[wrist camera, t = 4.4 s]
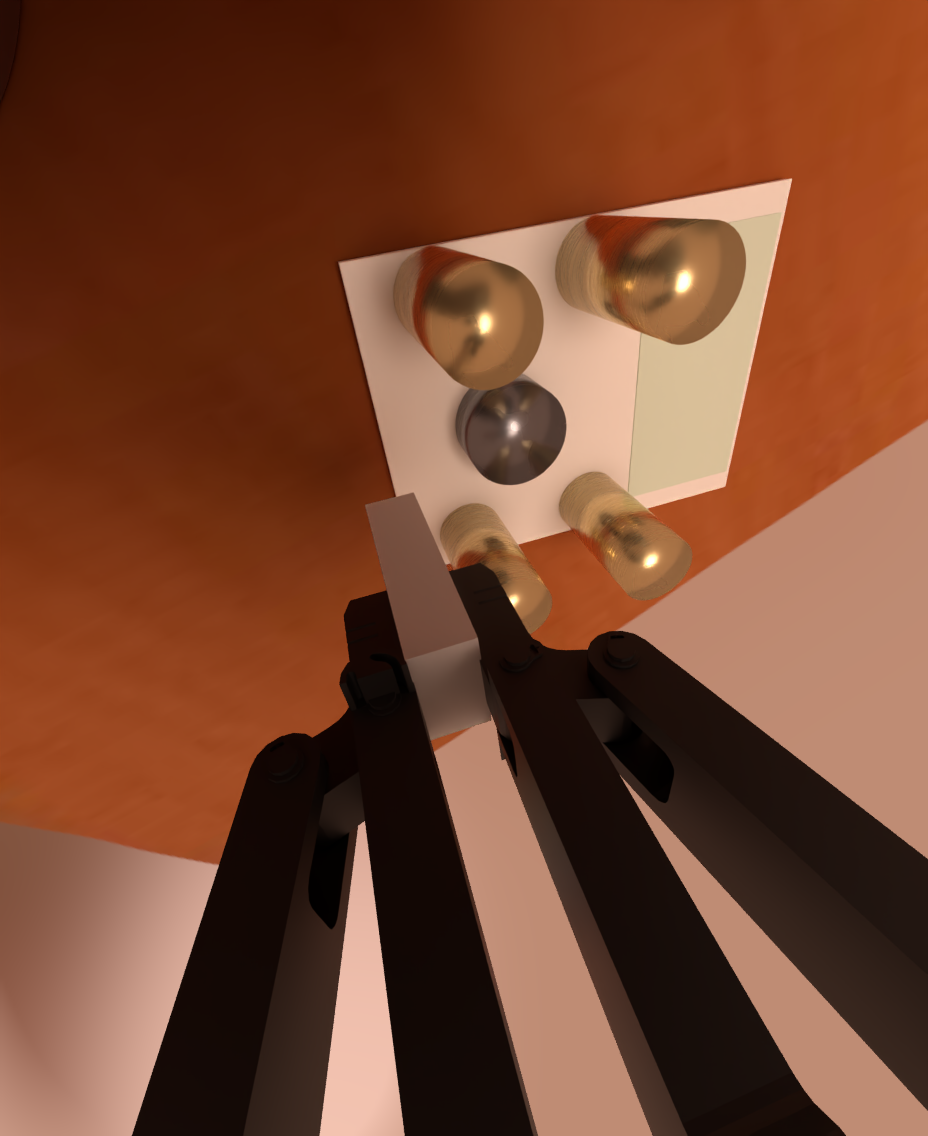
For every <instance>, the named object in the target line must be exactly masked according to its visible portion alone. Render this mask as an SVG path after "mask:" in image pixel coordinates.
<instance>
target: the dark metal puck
mask: <svg viewBox="0 0 928 1136" xmlns="http://www.w3.org/2000/svg"><path fill="white" fill-rule="evenodd" d="M566 427H567V426H566V417H565V413H564V410H563V407H562V406H561V404H560V402H559V401H558V399H557V398H556V397H555V396H554V395H553V394H552V393H550V392H549V391H548V390H546V389H545V388H543V387H542V386H541V385H539V384H538V383H536V382H535V381H534V380H532V379H531V378H529V377H528V376H526V375H524V374H521V375H520V376H519V377H518V378H516V379H515V380H514V381H512V382H510V383H509V384H507V385H505V386H502V387H499V388H496V389H491V390H476V389H471V388H470V389H469V390H468V391H467V393H466V394H465V395H464V397H463V399H462V400H461V403H460V405H459V407H458V411H457V414H456V422H455V428H456V435H457V439H458V441H459V444H460V446H461V447H462V449H463V450H464V452H465V453H466V455H467V456H468V457H469V459H470V460H471V462H472V463H473V465H474V466H475V467H476V469H477V470H478V471H479V473H480V474H481V475H482V476H484V477H485V478H486V479H488V480H490V481H492V482H494V483H497V484H501V485H518V484H522V483H525V482H528V481H530V480H533V479H534V478H536V477H538V476H539V475H541V474H542V473H543V472H545V471H546V470H547V469H548V468H549V467H550V466H551V465H552V464H553V462H554V461H555V460H556V458H557V457H558V455H559V453H560V451H561V449H562V447H563V444H564V441H565V436H566Z"/></svg>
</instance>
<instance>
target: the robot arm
mask: <svg viewBox="0 0 928 1136" xmlns="http://www.w3.org/2000/svg"><path fill="white" fill-rule="evenodd" d="M20 4H21V0H0V102H1V99H2V96H3V94H4V91H5V88H6V85H7V83H8V79H9V75H10V71H11V67H12V64H13V60H14V55H15V49H16V43H17V36H18V30H19V17H20ZM365 507H366V511H367V515H368V519H369V522H370V526H371V530H372V534H373V538H374V542H375V546H376V550H377V554H378V558H379V561H380V565H381V569H382V573H383V577H384V581H385V585H386V589H387V590H386V591H383V592H379V593H376V594H372V595H369V596H365V597H362V598H358V599H354V600H351V601H350V602H349V604H348V607H347V609H346V612H345V614H344V622H345V630H346V637H347V643H348V652H349V660H350V662H349V663H348V664H347V665H346V667H345V668H344V670H343V671H342V673H341V677H340V684H339V685H340V687H341V689H342V692H343V694H344V696H345V698H346V701H347V703H348V705H349V708H348V710H347V711H346V713H345V714H344V715H343V716H342V717H341V718H340V719H339V720H338V721H337V722H336V723H334V724H333V725H332V726H330V727H329V728H327V729H326V730H324V731H323V732H321V733H319V734H318V735H316V736H315V737H313V738H312V737H310V736H308V735H307V734H301V733H292V734H288V735H285V736H281V737H279V738H277V739H276V740H274V741H272V742H271V743H269V744H267V745H266V747H265V748H264V749H263V750H262V751H261V752H260V753H259V754H258V755H257V756H256V758H255V760H254V762H253V764H252V766H251V768H250V771H249V774H248V777H247V780H246V783H245V786H244V789H243V792H242V796H241V799H240V802H239V805H238V808H237V811H236V814H235V817H234V820H233V823H232V827H231V830H230V833H229V836H228V839H227V842H226V845H225V848H224V851H223V854H222V858H221V861H220V864H219V867H218V870H217V873H216V876H215V880H214V883H213V886H212V889H211V892H210V895H209V898H208V901H207V904H206V907H205V910H204V913H203V917H202V920H201V923H200V926H199V929H198V932H197V935H196V938H195V941H194V945H193V948H192V951H191V954H190V957H189V960H188V963H187V966H186V969H185V973H184V975H183V979H182V982H181V985H180V988H179V991H178V994H177V997H176V1001H175V1003H174V1007H173V1010H172V1013H171V1016H170V1019H169V1022H168V1025H167V1028H166V1031H165V1034H164V1038H163V1041H162V1044H161V1047H160V1050H159V1053H158V1056H157V1060H156V1062H155V1066H154V1069H153V1072H152V1075H151V1078H150V1081H149V1084H148V1087H147V1090H146V1093H145V1097H144V1100H143V1103H142V1106H141V1109H140V1112H139V1115H138V1118H137V1121H136V1125H135V1128H134V1131H133V1134H132V1136H319V1134H320V1126H321V1119H322V1111H323V1103H324V1094H325V1086H326V1079H327V1071H328V1062H329V1054H330V1047H331V1038H332V1030H333V1023H334V1015H335V1006H336V999H337V991H338V983H339V975H340V966H341V958H342V950H343V942H344V934H345V926H346V918H347V910H348V902H349V894H350V886H351V878H352V870H353V862H354V854H355V846H356V838H357V830H358V825H360V824H361V823H362V822H364V821H365V825H366V833H367V841H368V848H369V856H370V864H371V872H372V880H373V888H374V896H375V904H376V912H377V920H378V927H379V935H380V943H381V951H382V958H383V967H384V975H385V983H386V991H387V999H388V1007H389V1014H390V1022H391V1030H392V1038H393V1046H394V1054H395V1062H396V1070H397V1078H398V1086H399V1093H400V1102H401V1109H402V1117H403V1125H404V1133H405V1136H538V1134H537V1131H536V1127H535V1123H534V1120H533V1116H532V1112H531V1108H530V1105H529V1101H528V1097H527V1093H526V1090H525V1086H524V1083H523V1079H522V1075H521V1071H520V1068H519V1064H518V1060H517V1057H516V1053H515V1049H514V1045H513V1042H512V1038H511V1034H510V1031H509V1027H508V1023H507V1020H506V1016H505V1012H504V1008H503V1005H502V1001H501V997H500V994H499V990H498V987H497V983H496V979H495V975H494V971H493V968H492V964H491V960H490V957H489V953H488V949H487V946H486V942H485V938H484V935H483V931H482V927H481V923H480V920H479V916H478V912H477V909H476V905H475V901H474V898H473V894H472V890H471V886H470V883H469V879H468V875H467V872H466V868H465V864H464V860H463V857H462V853H461V850H460V846H459V842H458V839H457V835H456V831H455V827H454V824H453V820H452V816H451V813H450V809H449V805H448V802H447V798H446V794H445V790H444V787H443V783H442V779H441V775H440V772H439V768H438V764H437V761H436V758H435V755H434V751H433V747H432V744H431V740H433V739H436V738H439V737H442V736H445V735H448V734H451V733H454V732H457V731H460V730H463V729H466V728H469V727H472V726H475V725H478V724H481V723H485V722H488V721H491V715H492V717H493V720H494V722H495V725H496V727H497V733H498V740H499V746H500V753H501V759H502V760H504V759H506V761H507V763H508V766H509V768H510V771H511V774H512V777H513V779H514V782H515V784H516V787H517V789H518V792H519V794H520V797H521V800H522V802H523V804H524V807H525V810H526V812H527V815H528V817H529V820H530V823H531V825H532V828H533V830H534V833H535V835H536V838H537V840H538V843H539V846H540V848H541V851H542V853H543V856H544V858H545V861H546V863H547V866H548V869H549V871H550V874H551V876H552V879H553V881H554V884H555V886H556V889H557V891H558V894H559V897H560V899H561V901H562V904H563V907H564V910H565V912H566V915H567V917H568V920H569V922H570V925H571V928H572V930H573V933H574V935H575V938H576V940H577V943H578V946H579V948H580V950H581V953H582V956H583V958H584V961H585V963H586V966H587V968H588V971H589V974H590V976H591V979H592V981H593V983H594V987H595V989H596V991H597V994H598V997H599V999H600V1002H601V1004H602V1007H603V1010H604V1012H605V1015H606V1017H607V1020H608V1022H609V1025H610V1027H611V1030H612V1033H613V1035H614V1038H615V1040H616V1043H617V1045H618V1048H619V1050H620V1053H621V1056H622V1058H623V1061H624V1063H625V1066H626V1068H627V1071H628V1074H629V1076H630V1079H631V1081H632V1084H633V1086H634V1089H635V1091H636V1094H637V1097H638V1099H639V1102H640V1104H641V1107H642V1109H643V1112H644V1115H645V1117H646V1120H647V1122H648V1125H649V1127H650V1130H651V1132H652V1135H653V1136H846V1135H845V1134H844V1132H843V1131H842V1130H841V1129H840V1127H838V1125H836V1124H835V1123H834V1122H833V1121H832V1120H831V1119H830V1118H829V1117H828V1116H827V1115H826V1114H825V1113H824V1112H823V1111H822V1110H821V1109H820V1108H819V1107H818V1106H817V1105H816V1104H815V1103H814V1102H813V1101H812V1100H811V1098H810V1097H809V1096H808V1095H807V1093H806V1092H805V1091H804V1089H803V1088H802V1086H801V1085H800V1083H799V1082H798V1080H797V1079H796V1077H795V1075H794V1074H793V1072H792V1070H791V1069H790V1067H789V1066H788V1064H787V1062H786V1060H785V1058H784V1057H783V1055H782V1053H781V1052H780V1050H779V1048H778V1046H777V1045H776V1043H775V1041H774V1040H773V1038H772V1036H771V1034H770V1033H769V1031H768V1029H767V1028H766V1026H765V1024H764V1022H763V1021H762V1019H761V1017H760V1015H759V1014H758V1012H757V1010H756V1009H755V1007H754V1005H753V1004H752V1002H751V1000H750V998H749V997H748V995H747V993H746V991H745V990H744V988H743V986H742V985H741V983H740V981H739V979H738V978H737V976H736V974H735V972H734V971H733V969H732V967H731V966H730V964H729V962H728V960H727V959H726V957H725V955H724V954H723V952H722V950H721V948H720V947H719V945H718V943H717V942H716V940H715V938H714V936H713V935H712V933H711V931H710V929H709V928H708V926H707V924H706V923H705V921H704V919H703V917H702V916H701V914H700V912H699V911H698V909H697V907H696V905H695V904H694V902H693V900H692V899H691V897H690V895H689V893H688V892H687V890H686V888H685V887H684V885H683V883H682V881H681V880H680V878H679V876H678V875H677V873H676V871H675V869H674V868H673V866H672V864H671V862H670V861H669V859H668V857H667V856H666V854H665V852H664V850H663V849H662V847H661V845H660V844H659V842H658V840H657V838H656V837H655V835H654V833H653V831H652V830H651V828H650V826H649V825H648V823H647V821H646V819H645V818H644V816H643V814H642V813H641V811H640V809H639V807H638V806H637V804H636V802H635V800H634V799H633V797H632V795H631V794H630V792H629V790H628V788H627V787H626V785H625V784H624V782H623V780H622V778H623V779H624V780H625V781H626V782H627V783H628V784H629V785H630V786H631V787H632V789H633V790H634V791H635V792H636V793H637V794H638V795H639V796H640V797H641V798H642V799H643V801H645V803H646V804H647V805H648V806H649V807H650V808H651V809H652V810H653V811H654V813H655V814H656V815H657V816H658V817H659V818H660V819H661V820H662V821H663V822H664V823H665V824H666V826H667V827H668V828H669V829H670V830H671V831H672V832H673V833H674V834H675V835H676V837H677V838H678V839H679V840H680V841H681V842H682V843H683V844H684V845H685V846H686V847H687V849H688V850H689V851H690V852H691V853H692V854H693V855H694V856H695V857H696V858H697V859H698V860H699V861H700V863H701V864H702V865H703V866H704V867H705V868H706V869H707V870H708V871H709V873H710V874H711V875H712V876H713V877H714V878H715V879H716V880H717V881H718V882H719V883H720V885H722V887H723V888H724V889H725V890H726V891H727V892H728V893H729V894H730V895H731V897H732V898H733V899H734V900H735V901H736V902H737V903H738V904H739V905H740V906H741V907H742V908H743V910H744V911H745V912H746V913H747V914H748V915H749V916H750V917H751V918H752V919H753V921H754V922H755V923H756V924H757V925H758V926H759V927H760V928H761V929H762V930H763V931H764V933H765V934H766V935H768V937H769V938H770V939H771V940H772V941H773V942H774V943H775V945H776V946H777V947H778V948H779V949H780V950H781V951H782V952H783V953H784V954H785V955H786V957H787V958H788V959H789V960H790V961H791V962H792V963H793V964H794V965H795V966H796V967H797V969H798V970H799V971H800V972H801V973H802V974H803V975H804V976H805V977H806V978H807V980H808V981H809V982H810V983H811V984H812V985H813V986H814V987H815V988H816V989H817V990H818V991H819V992H820V994H821V995H822V996H823V997H824V998H825V999H826V1000H827V1001H828V1002H829V1003H830V1005H831V1006H832V1007H833V1008H834V1009H835V1010H836V1011H837V1012H838V1013H839V1014H840V1016H841V1017H842V1018H843V1019H844V1020H845V1021H846V1022H847V1023H848V1024H849V1025H850V1026H851V1028H852V1029H853V1030H854V1031H855V1032H856V1033H857V1034H858V1035H859V1036H860V1037H861V1038H862V1040H863V1041H865V1043H866V1044H867V1045H868V1046H869V1047H870V1048H871V1049H872V1050H873V1051H874V1053H875V1054H876V1055H877V1056H878V1057H879V1058H880V1059H881V1060H882V1061H883V1062H884V1064H886V1066H887V1067H888V1068H889V1069H890V1070H891V1071H892V1072H893V1073H894V1074H895V1075H896V1077H897V1078H898V1079H899V1080H900V1081H901V1082H902V1083H903V1084H904V1085H905V1086H906V1087H907V1089H908V1090H909V1091H910V1092H911V1093H912V1094H913V1095H914V1096H915V1097H916V1098H917V1100H918V1101H919V1102H920V1103H921V1104H922V1105H923V1106H924V1107H925V1108H926V1109H927V1110H928V859H927V858H926V857H924V856H923V855H922V854H920V853H919V852H918V851H917V850H915V849H914V848H913V847H911V846H910V845H909V844H907V843H906V842H905V841H904V840H902V839H901V838H900V837H898V836H897V835H896V834H895V833H893V832H892V831H891V830H890V829H888V828H887V827H886V826H884V825H883V824H882V823H881V822H879V821H878V820H877V819H875V818H874V817H873V816H872V815H870V814H869V813H868V812H866V811H865V810H864V809H863V808H861V807H860V806H859V805H857V804H856V803H855V802H853V801H852V800H851V799H850V798H848V797H847V796H846V795H844V794H843V793H842V792H841V791H839V790H838V789H837V788H835V787H834V786H833V785H832V784H830V783H829V782H828V781H826V780H825V779H824V778H823V777H821V776H820V775H819V774H817V773H816V772H815V771H814V770H812V769H811V768H810V767H808V766H807V765H806V764H805V763H803V762H802V761H801V760H799V759H798V758H797V757H796V756H794V755H793V754H792V753H790V752H789V751H788V750H787V749H785V748H784V747H783V746H781V745H780V744H779V743H778V742H776V741H775V740H774V739H772V738H771V737H770V736H768V735H767V734H766V733H765V732H763V731H762V730H761V729H759V728H758V727H757V726H756V725H754V724H753V723H752V722H750V721H749V720H748V719H746V718H745V717H744V716H743V715H741V714H740V713H739V712H738V711H736V710H735V709H734V708H732V707H731V706H730V705H729V704H727V703H726V702H725V701H723V700H722V699H721V698H719V697H718V696H717V695H716V694H714V693H713V692H712V691H711V690H709V689H708V688H707V687H705V686H704V685H703V684H701V683H700V682H699V681H698V680H696V679H695V678H694V677H692V676H691V675H690V674H689V673H687V672H686V671H685V670H683V669H682V668H681V667H680V666H678V665H677V664H675V663H674V662H673V661H672V660H671V659H669V658H668V657H667V656H665V655H664V654H663V653H662V652H660V651H659V650H658V649H656V648H655V647H654V646H653V645H651V644H650V643H649V642H647V641H646V640H645V639H643V638H641V637H639V636H637V635H635V634H633V633H629V632H624V631H609V632H607V633H604V634H601V635H598V636H597V637H596V638H595V639H594V640H593V641H591V643H590V645H589V648H588V650H556V649H551V648H548V647H545V646H543V645H542V644H541V643H540V642H539V641H537V640H535V639H533V638H532V637H531V636H530V634H529V633H528V631H527V629H526V628H525V626H524V624H523V622H522V620H521V619H520V617H519V615H518V613H517V612H516V610H515V608H514V606H513V605H512V603H511V601H510V599H509V597H507V594H506V592H505V590H504V589H503V587H502V586H501V583H500V582H499V580H498V578H497V576H496V575H495V573H494V571H492V570H491V569H489V568H488V567H486V566H485V565H483V564H482V563H477V564H474V565H470V566H467V567H463V568H459V569H456V570H452V571H448V569H447V567H446V565H445V562H444V560H443V558H442V555H441V553H440V551H439V549H438V546H437V544H436V542H435V540H434V537H433V535H432V533H431V530H430V528H429V526H428V524H427V521H426V519H425V517H424V515H423V512H422V510H421V508H420V505H419V503H418V501H417V499H416V496H415V494H414V492H413V493H409V494H405V495H401V496H397V497H393V498H390V499H386V500H382V501H378V502H374V503H370V504H366V505H365ZM490 712H491V714H490ZM619 774H620V775H621V777H622V778H621V777H620V775H619Z"/></svg>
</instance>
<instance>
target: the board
mask: <svg viewBox="0 0 928 1136" xmlns="http://www.w3.org/2000/svg"><path fill="white" fill-rule="evenodd" d="M791 181H792V179H780V180H774V181H769V182H763V183H758V184H753V185H747V186H742V187H737V188H731V189H726V190H720V191H715V192H710V193H704V194H699V195H694V196H688V197H683V198H677V199H672V200H667V201H661V202H656V203H651V204H645V205H640V206H634V207H629V208H624V209H618V210H613V211H607V212H602V213H597V214H591V215H586V216H581V217H575V218H570V219H564V220H559V221H554V222H548V223H543V224H538V225H532V226H527V227H521V228H516V229H511V230H505V231H500V232H495V233H489V234H484V235H478V236H473V237H468V238H462V239H457V240H452V241H446V242H441V243H435V244H430V245H425V246H419V247H414V248H409V249H403V250H398V251H392V252H387V253H382V254H376V255H371V256H365V257H360V258H355V259H349V260H344V261H339V262H338V264H339V268H340V272H341V276H342V280H343V284H344V288H345V293H346V297H347V301H348V305H349V309H350V313H351V317H352V321H353V325H354V329H355V333H356V337H357V341H358V345H359V349H360V353H361V357H362V361H363V365H364V369H365V374H366V378H367V382H368V386H369V390H370V394H371V398H372V402H373V406H374V410H375V414H376V418H377V422H378V426H379V430H380V434H381V438H382V442H383V446H384V450H385V455H386V459H387V463H388V467H389V471H390V475H391V479H392V483H393V487H394V491H395V495H396V497H397V496H401V495H405V494H409V493H413V492H414V494H415V496H416V499H417V501H418V503H419V505H420V508H421V510H422V512H423V515H424V517H425V519H426V521H427V524H428V526H429V528H430V530H431V533H432V535H433V537H434V540H435V542H436V544H437V546H438V549H439V551H440V553H441V555H442V558H443V560H444V562H445V565H447V564H450V562H449V560H448V557H447V555H446V553H445V551H444V548H443V546H442V544H441V541H440V530H441V526H442V524H443V522H444V520H445V519H446V518H447V516H448V515H449V514H450V513H451V512H453V511H454V510H455V509H457V508H459V507H461V506H464V505H467V504H473V503H479V504H484V505H487V506H489V507H491V508H492V509H493V510H494V511H495V512H496V513H497V514H498V516H499V517H500V519H501V520H502V522H503V523H504V525H505V526H506V528H507V529H508V531H509V532H510V534H511V535H512V537H513V538H514V540H515V541H516V543H517V544H522V543H525V542H529V541H532V540H536V539H540V538H543V537H547V536H550V535H554V534H557V533H561V532H565V531H568V530H571V528H570V527H569V526H568V525H567V524H566V523H565V522H564V520H563V519H562V518H561V515H560V512H559V502H560V499H561V496H562V494H563V492H564V490H565V489H566V488H567V486H568V485H569V484H570V483H571V482H572V481H573V480H575V479H576V478H577V477H579V476H581V475H583V474H586V473H589V472H602V473H605V474H607V475H608V476H609V477H610V478H612V479H613V480H614V481H615V482H616V483H617V484H619V485H620V486H621V487H622V488H623V489H625V490H626V491H627V492H628V493H629V494H630V495H632V496H633V497H634V498H635V499H636V500H637V501H639V502H640V503H641V504H642V505H643V506H644V507H646V508H650V507H654V506H658V505H661V504H665V503H668V502H672V501H675V500H679V499H683V498H686V497H690V496H693V495H697V494H701V493H704V492H708V491H711V490H715V489H718V488H722V487H725V485H726V480H727V476H728V471H729V466H730V462H731V457H732V453H733V448H734V443H735V439H736V434H737V430H738V425H739V420H740V416H741V411H742V407H743V402H744V397H745V393H746V388H747V384H748V379H749V374H750V370H751V365H752V361H753V356H754V351H755V347H756V342H757V338H758V333H759V328H760V324H761V319H762V315H763V310H764V305H765V301H766V296H767V292H768V287H769V282H770V278H771V273H772V269H773V264H774V260H775V255H776V250H777V246H778V241H779V237H780V232H781V227H782V223H783V218H784V214H785V209H786V204H787V200H788V195H789V191H790V186H791ZM594 215H613V216H639V217H665V218H691V219H715V220H721V221H725V222H727V223H728V224H730V225H731V226H733V227H734V228H735V229H736V230H737V232H738V233H739V235H740V236H741V238H742V241H743V244H744V247H745V252H746V270H745V277H744V281H743V285H742V288H741V291H740V293H739V296H738V298H737V300H736V302H735V304H734V306H733V308H732V309H731V311H730V312H729V314H728V315H727V317H726V318H725V319H724V320H723V322H722V323H721V324H720V325H719V326H718V327H717V328H716V329H715V330H714V331H712V332H711V333H710V334H708V335H707V336H706V337H704V338H702V339H701V340H698V341H696V342H693V343H690V344H685V345H675V344H671V343H668V342H665V341H662V340H660V339H657V338H654V337H651V336H649V335H646V334H643V333H641V332H638V331H635V330H632V329H630V328H627V327H624V326H622V325H619V324H616V323H613V322H611V321H608V320H605V319H603V318H600V317H597V316H594V315H592V314H589V313H586V312H584V311H581V310H578V309H575V308H573V307H572V306H570V305H569V304H567V303H566V302H565V300H564V299H563V298H562V296H561V295H560V293H559V290H558V288H557V284H556V279H555V265H556V259H557V255H558V251H559V249H560V246H561V244H562V242H563V240H564V239H565V237H566V235H567V234H568V233H569V231H570V230H571V229H572V228H573V227H574V226H575V225H576V224H578V223H579V222H580V221H582V220H583V219H585V218H588V217H590V216H594ZM428 246H442V247H446V248H450V249H453V250H457V251H460V252H464V253H468V254H471V255H475V256H478V257H482V258H485V259H489V260H492V261H496V262H500V263H503V264H507V265H509V266H512V267H514V268H516V269H517V270H519V271H520V272H522V273H523V274H524V275H525V276H526V277H527V278H528V279H529V280H530V281H531V282H532V284H533V285H534V287H535V288H536V291H537V293H538V295H539V297H540V300H541V303H542V308H543V316H544V327H543V335H542V339H541V343H540V346H539V348H538V351H537V353H536V355H535V357H534V359H533V360H532V362H531V364H530V365H529V366H528V367H527V369H526V370H525V371H524V372H523V373H522V374H524V375H526V376H528V377H529V378H531V379H532V380H534V381H535V382H536V383H538V384H539V385H541V386H542V387H543V388H545V389H546V390H548V391H549V392H550V393H552V394H553V395H554V396H555V397H556V398H557V399H558V401H559V402H560V404H561V406H562V407H563V410H564V413H565V417H566V426H567V427H566V436H565V441H564V444H563V447H562V449H561V451H560V453H559V455H558V457H557V458H556V460H555V461H554V462H553V464H552V465H551V466H550V467H549V468H548V469H547V470H546V471H545V472H543V473H542V474H541V475H539V476H538V477H536V478H534V479H533V480H530V481H528V482H525V483H522V484H518V485H501V484H497V483H494V482H492V481H490V480H488V479H486V478H485V477H484V476H482V475H481V474H480V473H479V471H478V470H477V469H476V467H475V466H474V465H473V463H472V462H471V460H470V459H469V457H468V456H467V455H466V453H465V452H464V450H463V449H462V447H461V446H460V444H459V441H458V439H457V435H456V428H455V422H456V414H457V411H458V407H459V405H460V403H461V400H462V399H463V397H464V395H465V394H466V393H467V391H468V390H469V389H470V388H468V387H466V386H463V385H461V384H460V383H458V382H456V381H455V380H454V379H453V378H451V377H450V376H449V375H448V374H447V373H446V371H445V370H444V369H443V368H442V367H441V366H440V365H439V364H438V363H437V362H436V361H435V360H434V359H433V358H432V356H431V355H430V354H429V353H428V352H427V351H426V350H425V349H424V348H423V347H422V346H421V345H420V344H419V343H418V342H417V340H416V339H415V338H414V337H413V336H412V335H411V334H410V333H409V332H408V331H407V330H406V329H405V327H404V326H403V325H402V323H401V322H400V320H399V318H398V316H397V313H396V310H395V306H394V300H393V289H394V283H395V278H396V276H397V273H398V271H399V269H400V267H401V265H402V264H403V262H404V261H405V260H406V259H407V258H408V257H409V256H410V255H411V254H412V253H414V252H416V251H417V250H419V249H421V248H424V247H428Z"/></svg>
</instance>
